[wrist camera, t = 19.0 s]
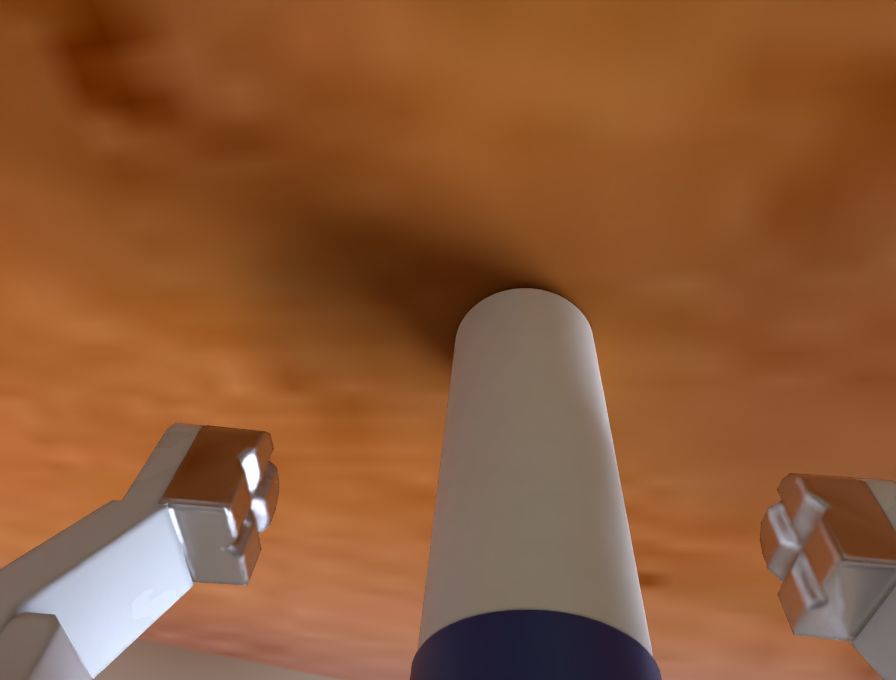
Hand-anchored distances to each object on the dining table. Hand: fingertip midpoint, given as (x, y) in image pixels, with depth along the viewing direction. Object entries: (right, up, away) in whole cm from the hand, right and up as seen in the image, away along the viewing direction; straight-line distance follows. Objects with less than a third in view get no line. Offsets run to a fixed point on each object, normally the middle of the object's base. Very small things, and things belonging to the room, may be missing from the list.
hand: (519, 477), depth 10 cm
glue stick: (+1, +2, +4) cm, 4 cm away
